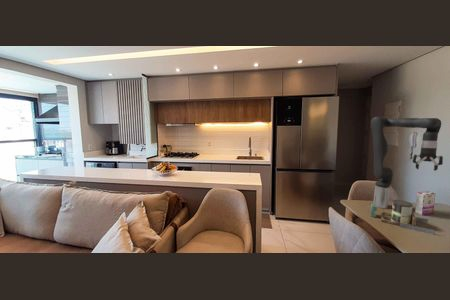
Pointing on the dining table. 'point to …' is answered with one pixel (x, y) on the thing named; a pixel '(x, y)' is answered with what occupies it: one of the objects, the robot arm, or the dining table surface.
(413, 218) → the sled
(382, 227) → the dining table surface
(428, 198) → the candy bar box
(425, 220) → the track
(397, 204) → the coffee can
